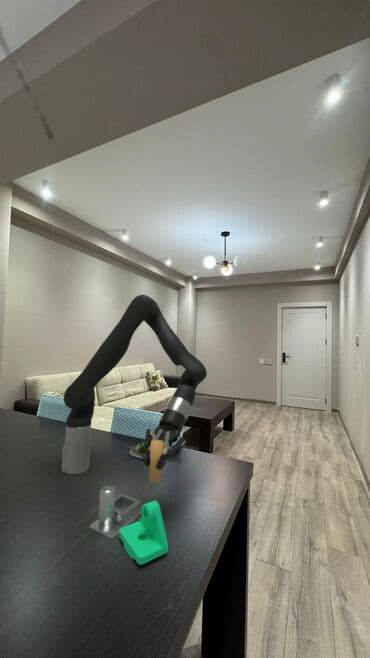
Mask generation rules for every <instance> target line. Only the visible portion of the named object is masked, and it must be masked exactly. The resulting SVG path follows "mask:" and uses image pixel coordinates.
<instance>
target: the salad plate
mask: <svg viewBox="0 0 370 658" xmlns="http://www.w3.org/2000/svg"><path fill="white" fill-rule="evenodd" d="M144 444H145V441H144V442H142V443H137V446H134V445H131V444H129V445H127V447H128V448H129V449H130V450H129V455H130V456H132V457H133V458H135V457H136V459H139V460H142V461H144V458H145V456H146V454H147V452H148V450H147V449H146V448H145V446H144ZM163 449H164V445H163Z"/></svg>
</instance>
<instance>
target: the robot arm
mask: <svg viewBox="0 0 370 658" xmlns="http://www.w3.org/2000/svg"><path fill="white" fill-rule="evenodd" d="M143 322H145V324H147V325H148V327H150V328H151V330H152V331H153V332H154V334H155V336H156V337H157V339H158V341H159V344H160V346H161V348H162V349H163V351H164V353H165V354H166V355H167V357H168V358H169V360H170V361H171V362H172V363H173V364H174V365H175V366H177V367H178V366H182V368H184V371H183V372H182V374H181V376H180V379H179V380H178V384H177V388H176V389H175V391H174V393H173V395H172V397H171V399H170V400H169V402H168V404H167V406H166V407H165V410H164V412H163V413H162V415H161V418H160V420H159V424H158V426H156V427H155V429H150V428H147V429H146V432H145V433H146V434H145V438H144V442H145V444H144V446H145V448H146V449H147V450H148V452H147V454H146V456H145V458H144V460H143V464H144V466H145V467H150V450H151V441H152V440H162V441H163V445H164V449H163V454H162V455H161V456H160V458H159V460H158V463H157V465H156V468H157V470H161V469H162V470H163V469H164V467H165V465H166V463H167V460H168V459H169V458H172V459H174V458H176V456H177V455H178V454H179V453H180V451H181V450H182V449H183V448H184V447H185V446H186V444H187V441H186V440H185V438H184V437H182V436H181V433H182V432H183V430H184V427H185V424H186V422H187V420H188V418H189V415H190V412H191V408H192V407H193V404H194V401H195V400H196V395H197V394H196V390H197V387H198V386H199V385H200V384H201V383H202V382H203V381H204V380H205V379H206V378H207V376H208V375H207V372H208V371H207V369H206V367H205V365H204V364H203V362H202V361H200V360H199V359H198V358H197V357H196V356H195V355H194V354H192V353H190V352H189V350H188V349H187V348H186V345H184V343H183V342H182V340H181V339H180V338H179V337H178V335H177V334H176V333H175V332H174V330H173V329H172V328H171V326H170V325H169V323H168V322H167V320H166V319H165V317H164V314H163V312H162V310H161V309H160V307H159V305H158V303H157V302H156V300H155V299H153V298H151V297H150V296H149V295H147V294H139V295H137V296H135V297H134V298H133V299H132V300H131V301H130V303H129V305H128V306H127V308H126V309H125V312H124V313H123V315H122V316H121V318H120V320H119V321H118V323H116V325H115V326H114V327H113V329H112V330H111V332H110V333H109V334H108V335H107V337H106V338H105V340H103V342H102V343H101V344H100V346H99V347H98V349H97V351H96V352H95V353H94V354H93V356H92V358H91V359H90V360H89V362H88V363H87V364H86V366H85V368H84V369H83V370H82V372H81V373H80V374H79V375H78V376H77V377H76V378H75V380H74V381H72V383H71V384H70V385H68V387H67V388H66V390H65V391H64V394H63V403H64V405H65V406H66V407H67V408H68V409H70V412H69V414H68V415H67V417H66V419H65V422H66V423H65V440H64V445H63V446H62V454H61V455H62V456H61V457H62V458H61V473H65V474H67V475H78V474H79V475H80V474H83V473H86V472H87V471H88V470H90V457H91V456H90V454H91V436H92V435H91V434H92V419H93V416H94V413H95V411H94V410H95V401H96V390H95V387H96V386H97V385H98V384H99V383H100V381H102V380H103V379H104V378H105V377H106V376H107V375H108V374H109V373H110V372H112V370H113V369H115V367H117V365H118V364H119V362H120V361H121V360H122V359H123V357H124V356H125V355H126V353H127V352H128V349H129V346H130V345H131V342H132V341H131V340H132V338H133V336H134V333H135V332H136V331H137V329H138V328H139V327H140V326H141V324H142V323H143ZM173 444H174V445H173Z"/></svg>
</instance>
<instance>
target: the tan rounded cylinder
mask: <svg viewBox="0 0 370 658" xmlns="http://www.w3.org/2000/svg"><path fill="white" fill-rule="evenodd" d="M162 454H163V441H162V440H153V439H152V441H151V450H150V465H149V471H148V472H149V473H148V474H149V475H148V482H150V483H152V484H158V483H161V482H162V479H163V478H162V473H163V469H161V470H157V468H156V465H157V463H158V460H159V458H160V456H161V455H162Z"/></svg>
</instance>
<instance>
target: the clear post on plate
mask: <svg viewBox="0 0 370 658" xmlns="http://www.w3.org/2000/svg"><path fill="white" fill-rule="evenodd" d="M141 507H142V501H141V500H139V499H137V498H135V497H134V498H133V497H132V496H129V495H126V494H123V493H120V494H118V495H117V496H116V487H115V486H114V485H111V484H110V485H105V486H102V487H101V488H100V489H99V507H98V519H96V520H95V521H94V522H93V523H91V524H90V525H89V529H92V530H94V531H96V532H97V533H99V534H102V535H104V536H106V537H108V538H110V539H114V538H115V536H116V535H118V534H119V532H120V529H121V528H122V527H125V526H128V525H130V524H132V523H133V521H135V520H136V519H137V518H138V517H139V516H141Z"/></svg>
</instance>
